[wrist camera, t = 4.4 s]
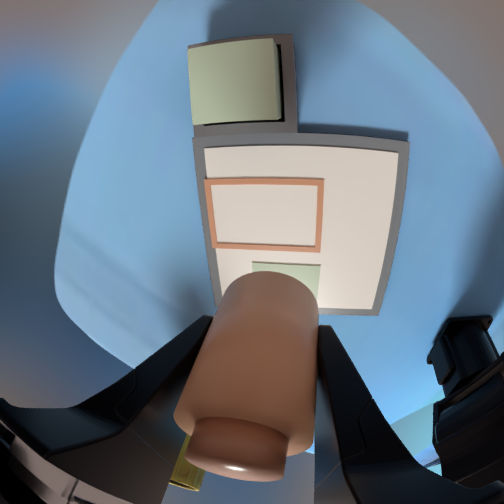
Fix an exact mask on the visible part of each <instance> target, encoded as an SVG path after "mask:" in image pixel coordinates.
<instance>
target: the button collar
mask: <svg viewBox="0 0 504 504" xmlns="http://www.w3.org/2000/svg"><path fill="white" fill-rule="evenodd" d="M267 38H273V40H274V42H275V44H276V46H277V48H278V50H279V52H280V55H282V70H283V88H284V110H285V120H263V121H240V122H226V123H220V122H219V123H208V124H199V125H193V127H194V137H195V138H196V137H207V136H219V135H235V134H258V133H297V132H298V106H297V83H296V65H295V50H294V42H293V37H292V34H274V35H258V36H246V37H237V38H229V39H222V40H215V41H209V42H204V43H198V44H193V45H189V46H188V49H191V48H196V47H201V46H207V45H213V44H219V43H226V42H234V41H243V40H253V39H267Z"/></svg>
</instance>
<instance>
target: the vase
mask: <svg viewBox="0 0 504 504" xmlns="http://www.w3.org/2000/svg"><path fill="white" fill-rule="evenodd" d="M190 438H191V436H190V435H188V434H187V435H186V438H185V440H184V443H183V446H182V448H181V451H180V454H179V456H178V459H177V462H176V464H175V467H174V470H173V473H172V476H171V478H170V481H169V483H170V484H173V485H176V486H179V487H182V488H185V489H190V490H195V491H199V489H200V487H201V484H202V481H203V477H204V474H205V471H206V470H204V469H201V468H199V467H197V466H195V465H193V464H191V463H190V462H188V461H187V460H186V459H185V458H184V455H185V452H186V449H187V446H188V444H189V441H190Z"/></svg>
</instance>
